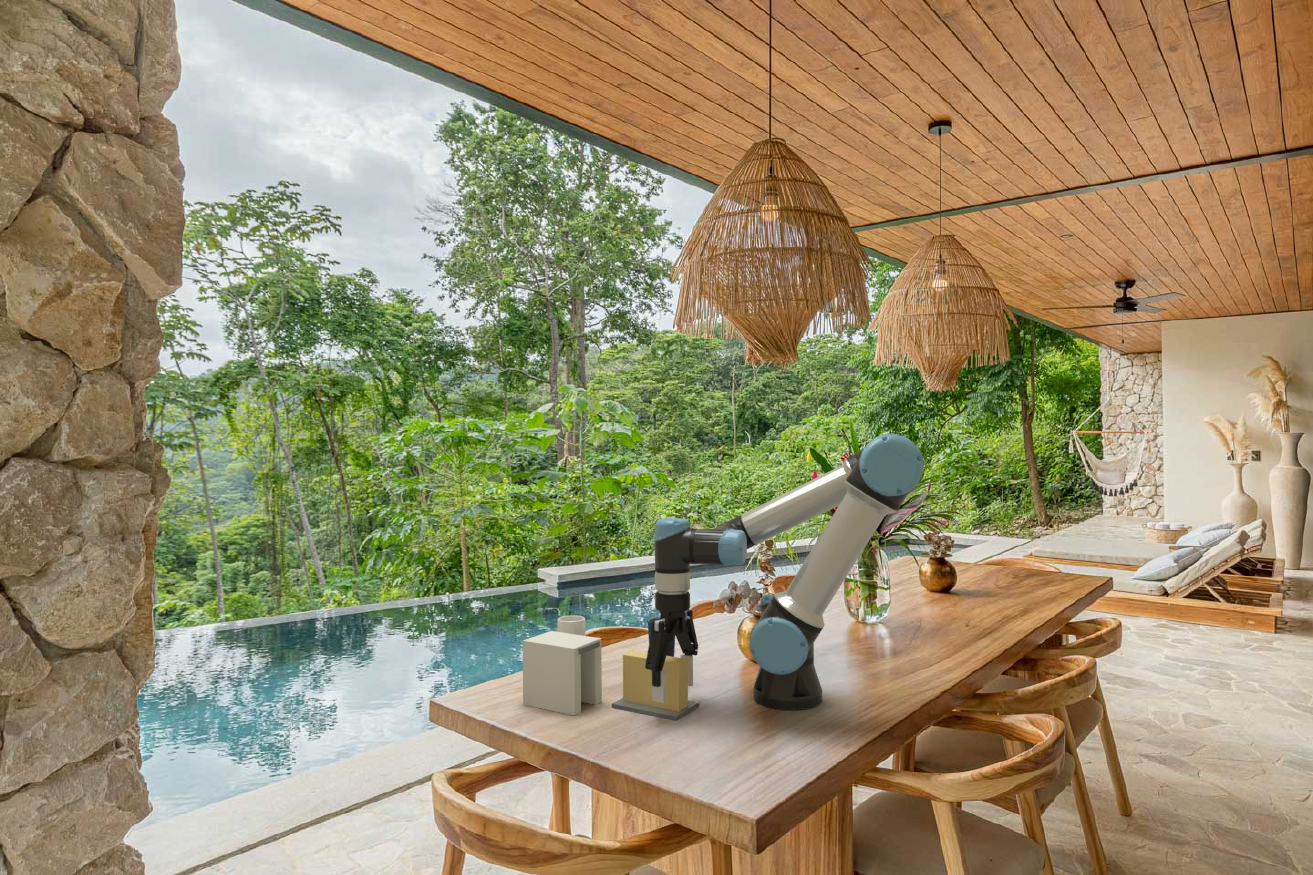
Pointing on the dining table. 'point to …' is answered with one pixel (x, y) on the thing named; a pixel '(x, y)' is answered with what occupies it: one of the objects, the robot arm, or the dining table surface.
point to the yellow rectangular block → (640, 681)
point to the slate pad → (654, 709)
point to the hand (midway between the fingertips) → (673, 692)
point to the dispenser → (562, 672)
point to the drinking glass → (571, 625)
